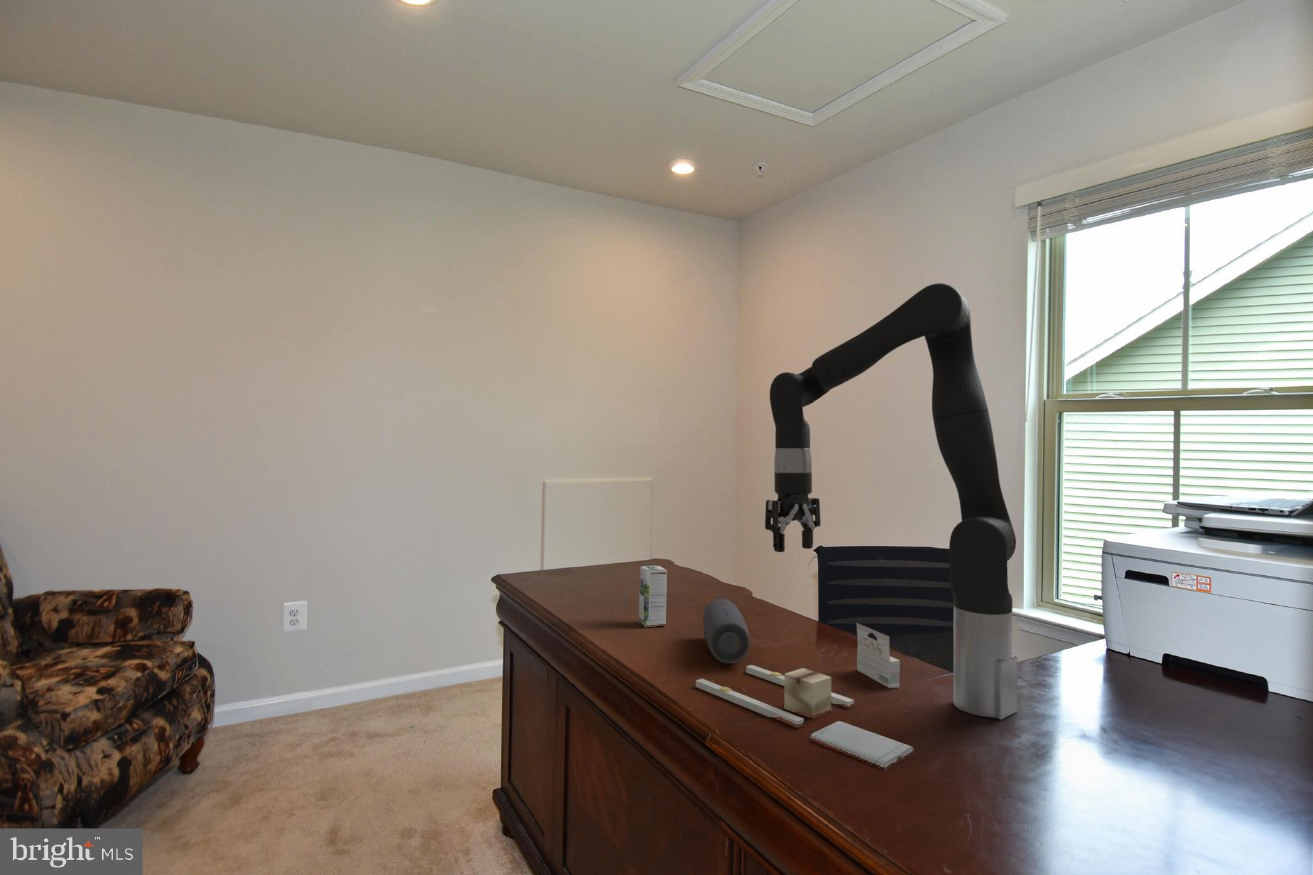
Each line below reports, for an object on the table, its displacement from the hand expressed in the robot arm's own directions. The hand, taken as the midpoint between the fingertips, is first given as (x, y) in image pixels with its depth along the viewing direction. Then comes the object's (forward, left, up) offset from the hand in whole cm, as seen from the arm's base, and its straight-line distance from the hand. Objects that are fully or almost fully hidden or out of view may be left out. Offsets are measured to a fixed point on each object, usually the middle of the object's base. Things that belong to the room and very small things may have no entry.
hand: (793, 550), depth 138 cm
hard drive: (-30, +20, -25) cm, 44 cm away
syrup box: (+44, +1, -24) cm, 50 cm away
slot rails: (-8, +15, -24) cm, 30 cm away
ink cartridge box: (-14, -9, -24) cm, 29 cm away
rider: (-16, +15, -24) cm, 33 cm away
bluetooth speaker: (+16, +3, -24) cm, 29 cm away
